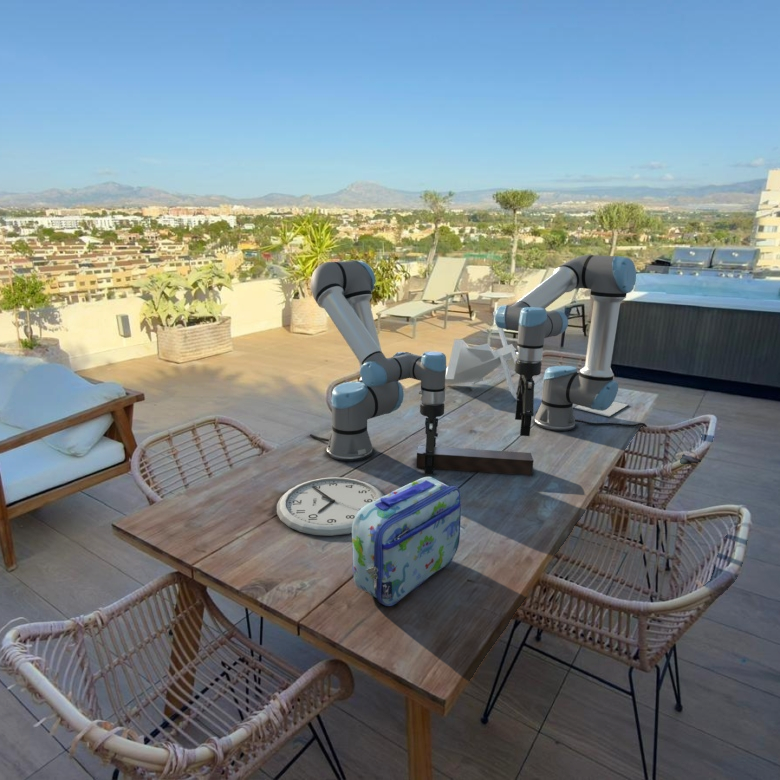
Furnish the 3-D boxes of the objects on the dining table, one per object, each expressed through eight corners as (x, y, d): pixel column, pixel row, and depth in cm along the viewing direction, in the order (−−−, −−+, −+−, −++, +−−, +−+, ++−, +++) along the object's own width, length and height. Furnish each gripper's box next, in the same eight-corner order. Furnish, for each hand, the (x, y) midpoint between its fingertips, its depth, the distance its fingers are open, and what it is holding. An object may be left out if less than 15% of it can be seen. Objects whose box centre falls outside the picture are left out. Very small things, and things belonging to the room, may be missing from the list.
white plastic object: (461, 429, 252) (437, 405, 227) (444, 352, 274) (420, 323, 250) (535, 404, 240) (518, 377, 215) (510, 326, 262) (492, 293, 237)
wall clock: (392, 527, 129) (268, 531, 127) (391, 533, 130) (269, 537, 127) (383, 473, 158) (282, 475, 155) (383, 478, 158) (282, 480, 156)
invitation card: (608, 416, 214) (573, 407, 224) (608, 416, 214) (573, 408, 224) (628, 404, 229) (594, 396, 238) (628, 405, 229) (594, 397, 238)
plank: (529, 467, 168) (530, 452, 166) (532, 475, 162) (533, 460, 161) (417, 459, 172) (418, 445, 170) (416, 467, 166) (416, 453, 165)
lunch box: (381, 619, 101) (382, 525, 95) (345, 592, 109) (344, 503, 102) (464, 563, 119) (469, 480, 113) (428, 543, 126) (432, 464, 120)
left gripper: (422, 389, 174) (420, 448, 181) (417, 414, 151) (415, 481, 157) (445, 390, 174) (442, 449, 180) (443, 416, 150) (440, 482, 156)
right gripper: (511, 350, 167) (505, 412, 173) (520, 370, 143) (513, 442, 150) (535, 351, 166) (529, 414, 173) (548, 371, 143) (540, 443, 149)
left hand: (430, 464), depth 168 cm, fingers open, 13 cm apart
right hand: (521, 427), depth 161 cm, fingers open, 13 cm apart
